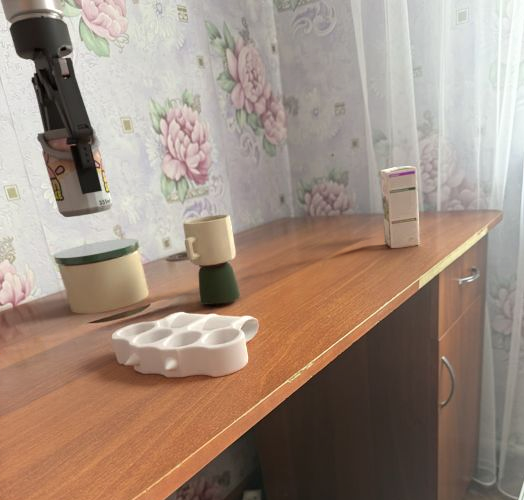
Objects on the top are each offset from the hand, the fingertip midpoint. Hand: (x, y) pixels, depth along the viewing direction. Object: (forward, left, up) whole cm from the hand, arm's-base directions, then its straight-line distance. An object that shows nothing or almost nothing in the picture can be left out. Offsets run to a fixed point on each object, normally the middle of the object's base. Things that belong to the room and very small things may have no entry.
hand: (82, 192), depth 76 cm
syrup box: (+14, +55, -19) cm, 60 cm away
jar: (0, 0, -19) cm, 19 cm away
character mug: (+14, +13, -19) cm, 27 cm away
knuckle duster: (+29, -1, -19) cm, 35 cm away
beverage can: (0, 0, -3) cm, 3 cm away
